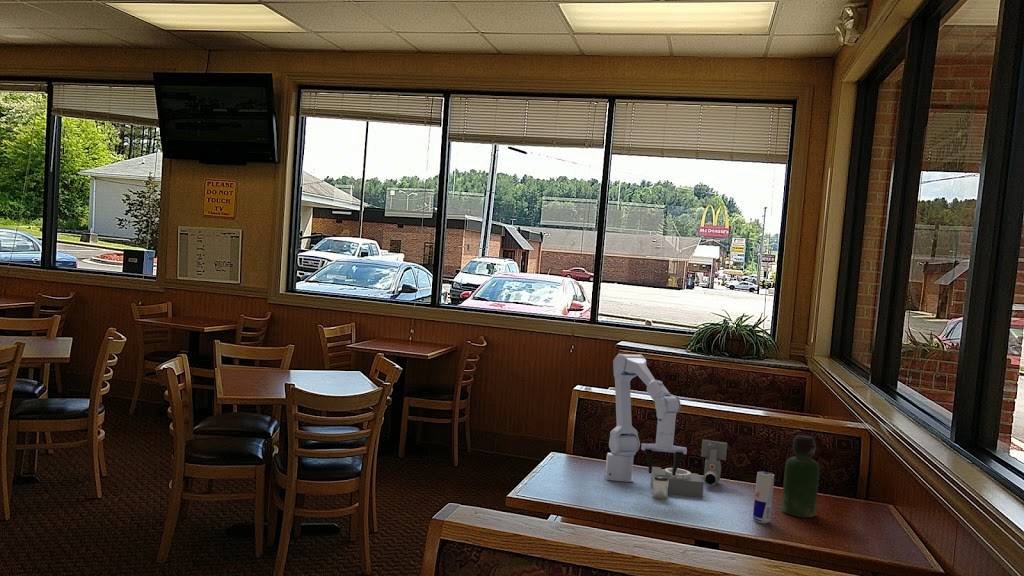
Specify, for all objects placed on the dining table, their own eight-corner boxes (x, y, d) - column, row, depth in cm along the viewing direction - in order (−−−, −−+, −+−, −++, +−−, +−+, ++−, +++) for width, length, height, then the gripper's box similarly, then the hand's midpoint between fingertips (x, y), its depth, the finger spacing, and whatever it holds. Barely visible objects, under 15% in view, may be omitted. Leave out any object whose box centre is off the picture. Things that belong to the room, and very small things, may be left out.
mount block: (654, 492, 271) (656, 473, 271) (650, 483, 282) (652, 465, 282) (702, 497, 270) (704, 477, 270) (696, 488, 281) (698, 469, 281)
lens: (652, 498, 263) (654, 478, 263) (651, 494, 268) (652, 474, 268) (668, 500, 263) (670, 480, 263) (666, 495, 268) (667, 476, 268)
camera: (696, 486, 283) (700, 444, 283) (699, 479, 294) (702, 438, 294) (722, 490, 281) (726, 448, 280) (723, 482, 292) (727, 441, 292)
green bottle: (780, 514, 257) (787, 436, 257) (781, 506, 267) (788, 431, 266) (815, 520, 254) (822, 441, 253) (815, 512, 264) (822, 436, 263)
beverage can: (757, 517, 252) (762, 470, 251) (772, 522, 248) (777, 474, 248) (749, 520, 248) (754, 472, 248) (764, 525, 245) (769, 476, 244)
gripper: (644, 432, 261) (640, 474, 262) (689, 437, 261) (686, 478, 261) (642, 428, 268) (638, 469, 269) (686, 432, 268) (682, 473, 268)
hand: (661, 473), depth 265 cm, fingers open, 7 cm apart
